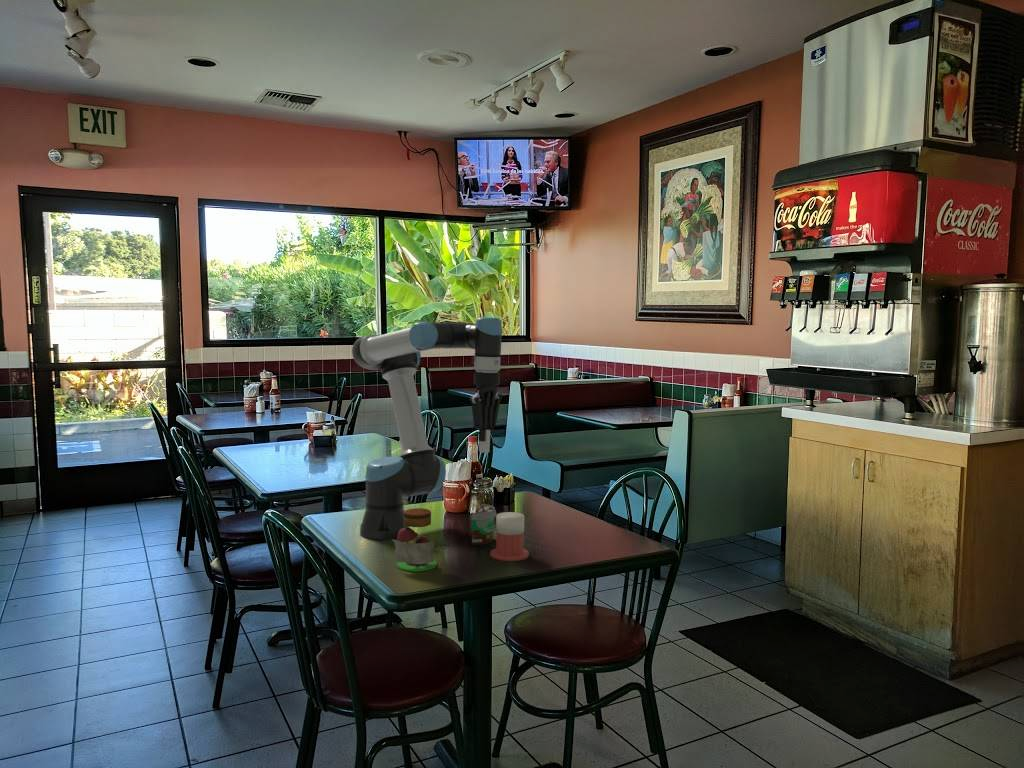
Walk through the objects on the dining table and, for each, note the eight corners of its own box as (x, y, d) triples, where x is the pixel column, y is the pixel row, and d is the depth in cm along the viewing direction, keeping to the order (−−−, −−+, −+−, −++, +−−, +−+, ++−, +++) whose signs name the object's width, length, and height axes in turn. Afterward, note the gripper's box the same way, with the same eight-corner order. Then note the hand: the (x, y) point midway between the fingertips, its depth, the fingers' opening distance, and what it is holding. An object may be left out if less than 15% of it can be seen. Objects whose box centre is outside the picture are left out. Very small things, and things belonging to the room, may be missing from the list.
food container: (491, 547, 221) (491, 514, 220) (470, 546, 222) (471, 512, 222) (500, 536, 233) (500, 504, 233) (480, 534, 235) (481, 503, 234)
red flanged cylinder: (482, 556, 213) (483, 532, 212) (505, 547, 222) (505, 524, 221) (514, 563, 206) (514, 538, 206) (536, 554, 215) (536, 530, 215)
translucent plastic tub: (393, 559, 209) (393, 506, 208) (439, 558, 210) (439, 506, 209) (389, 573, 197) (389, 517, 196) (437, 572, 198) (438, 517, 197)
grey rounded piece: (490, 540, 213) (490, 516, 212) (506, 534, 219) (507, 510, 219) (513, 545, 208) (513, 520, 208) (529, 539, 215) (529, 515, 214)
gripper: (483, 373, 208) (480, 457, 210) (510, 371, 218) (507, 450, 221) (462, 371, 212) (460, 453, 215) (490, 369, 223) (487, 447, 225)
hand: (484, 451), depth 218 cm, fingers closed
